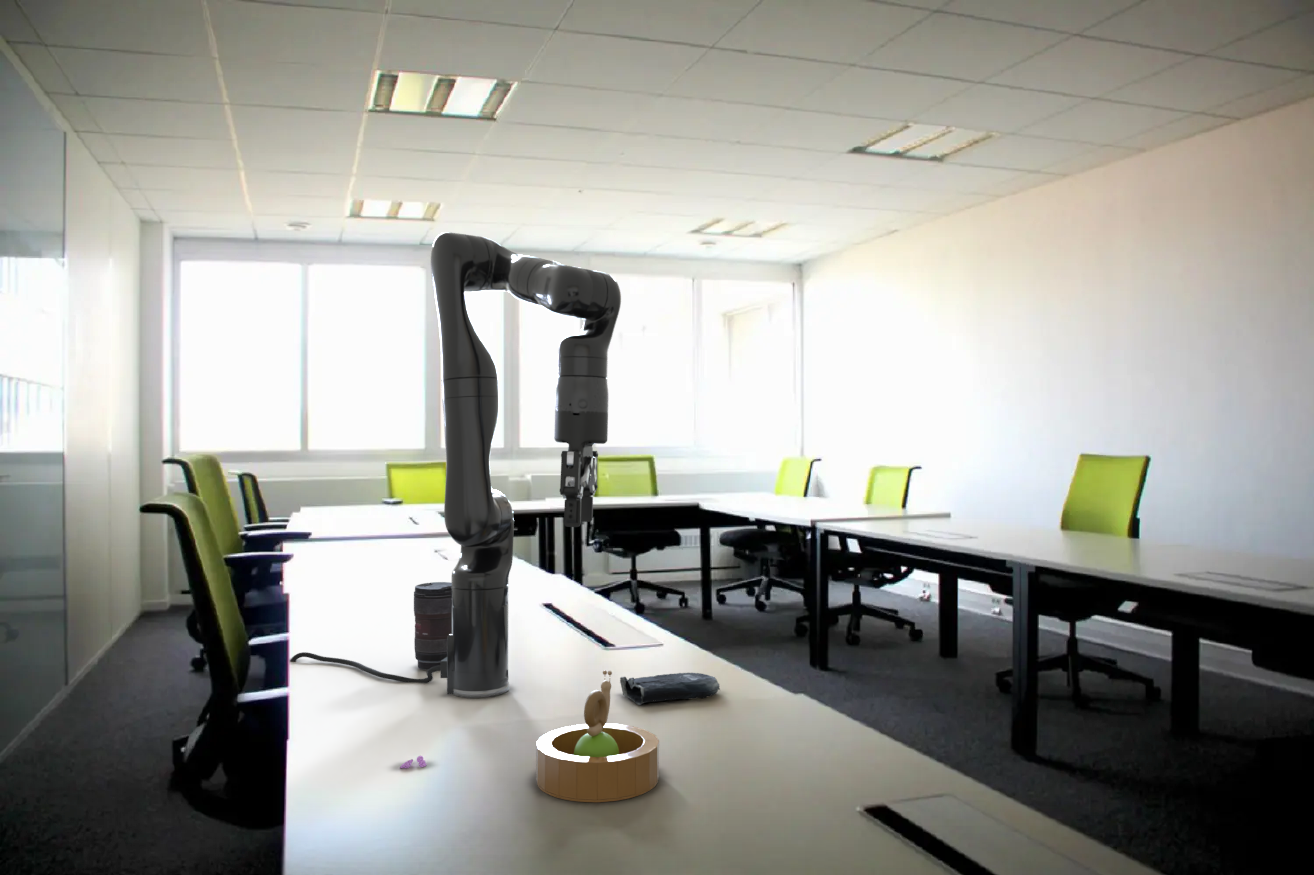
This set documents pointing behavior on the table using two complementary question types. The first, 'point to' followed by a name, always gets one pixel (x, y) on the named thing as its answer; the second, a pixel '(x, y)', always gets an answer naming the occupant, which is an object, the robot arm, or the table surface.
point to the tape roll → (597, 765)
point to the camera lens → (432, 622)
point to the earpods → (408, 763)
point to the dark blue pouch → (669, 687)
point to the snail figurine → (597, 725)
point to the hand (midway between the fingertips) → (578, 524)
